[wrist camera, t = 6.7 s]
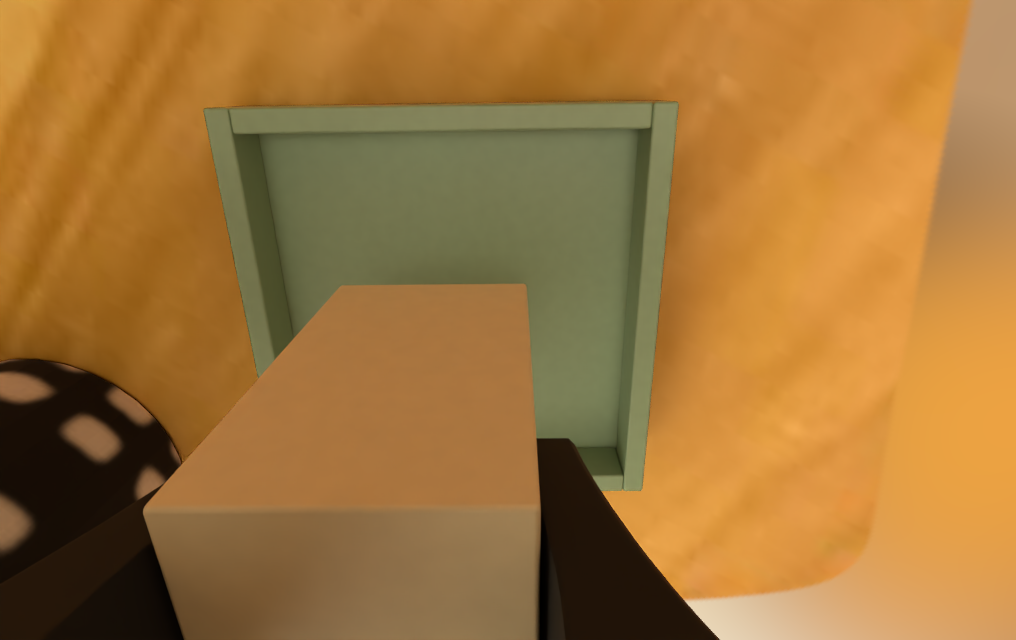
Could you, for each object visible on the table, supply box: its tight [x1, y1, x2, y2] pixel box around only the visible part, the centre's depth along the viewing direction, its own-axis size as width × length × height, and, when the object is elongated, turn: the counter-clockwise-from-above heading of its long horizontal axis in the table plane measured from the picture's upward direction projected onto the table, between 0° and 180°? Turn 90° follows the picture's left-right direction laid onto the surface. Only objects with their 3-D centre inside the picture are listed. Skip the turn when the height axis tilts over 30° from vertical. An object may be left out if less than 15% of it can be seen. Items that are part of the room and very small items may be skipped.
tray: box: [204, 100, 679, 491], centre depth 16 cm, size 11×11×2 cm
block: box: [143, 284, 541, 640], centre depth 10 cm, size 4×4×7 cm
